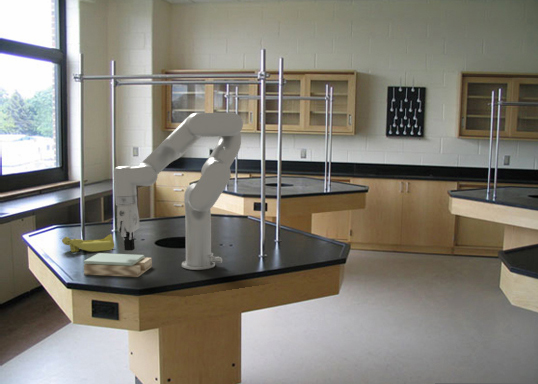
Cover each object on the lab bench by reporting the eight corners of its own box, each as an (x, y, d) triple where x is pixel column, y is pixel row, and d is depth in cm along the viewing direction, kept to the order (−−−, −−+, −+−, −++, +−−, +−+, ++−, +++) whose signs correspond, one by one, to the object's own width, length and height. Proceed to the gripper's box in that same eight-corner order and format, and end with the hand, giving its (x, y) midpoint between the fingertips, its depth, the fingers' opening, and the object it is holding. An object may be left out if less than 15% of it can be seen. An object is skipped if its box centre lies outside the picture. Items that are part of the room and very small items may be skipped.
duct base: (151, 266, 205) (151, 257, 204) (138, 276, 191) (137, 267, 190) (101, 264, 207) (101, 255, 207) (84, 274, 193) (83, 264, 193)
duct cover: (144, 257, 203) (144, 255, 203) (132, 265, 192) (132, 262, 192) (98, 255, 206) (98, 253, 206) (83, 263, 194) (83, 260, 194)
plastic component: (103, 239, 241) (112, 233, 234) (105, 255, 239) (115, 249, 233) (58, 242, 228) (67, 235, 221) (60, 259, 226) (69, 252, 219)
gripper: (128, 203, 188) (131, 255, 191) (143, 197, 203) (146, 245, 205) (107, 203, 189) (111, 255, 192) (124, 197, 204) (127, 245, 206)
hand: (129, 249), depth 198 cm, fingers closed
